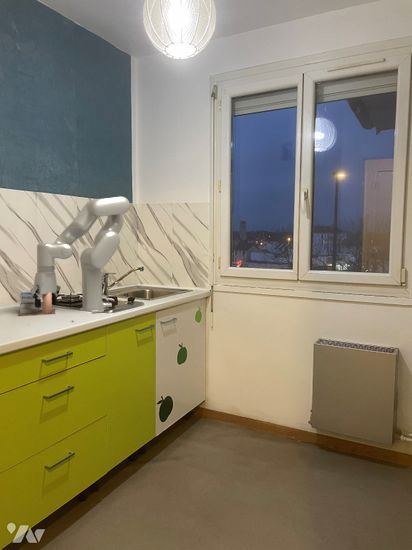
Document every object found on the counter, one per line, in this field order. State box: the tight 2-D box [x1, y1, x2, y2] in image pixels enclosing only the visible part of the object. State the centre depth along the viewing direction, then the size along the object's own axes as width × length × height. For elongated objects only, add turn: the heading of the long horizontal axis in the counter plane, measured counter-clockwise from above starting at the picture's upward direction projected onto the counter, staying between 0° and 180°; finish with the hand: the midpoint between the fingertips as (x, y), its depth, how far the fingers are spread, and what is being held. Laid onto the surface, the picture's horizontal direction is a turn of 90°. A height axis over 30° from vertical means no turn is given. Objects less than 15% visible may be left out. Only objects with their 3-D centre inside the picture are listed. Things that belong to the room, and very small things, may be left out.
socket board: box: [17, 301, 56, 317], centre depth 195 cm, size 16×14×5 cm
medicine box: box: [19, 291, 35, 303], centre depth 210 cm, size 8×4×9 cm, turn 112°
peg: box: [41, 292, 53, 315], centre depth 192 cm, size 4×4×10 cm
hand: (46, 306), depth 192 cm, fingers open, 9 cm apart
